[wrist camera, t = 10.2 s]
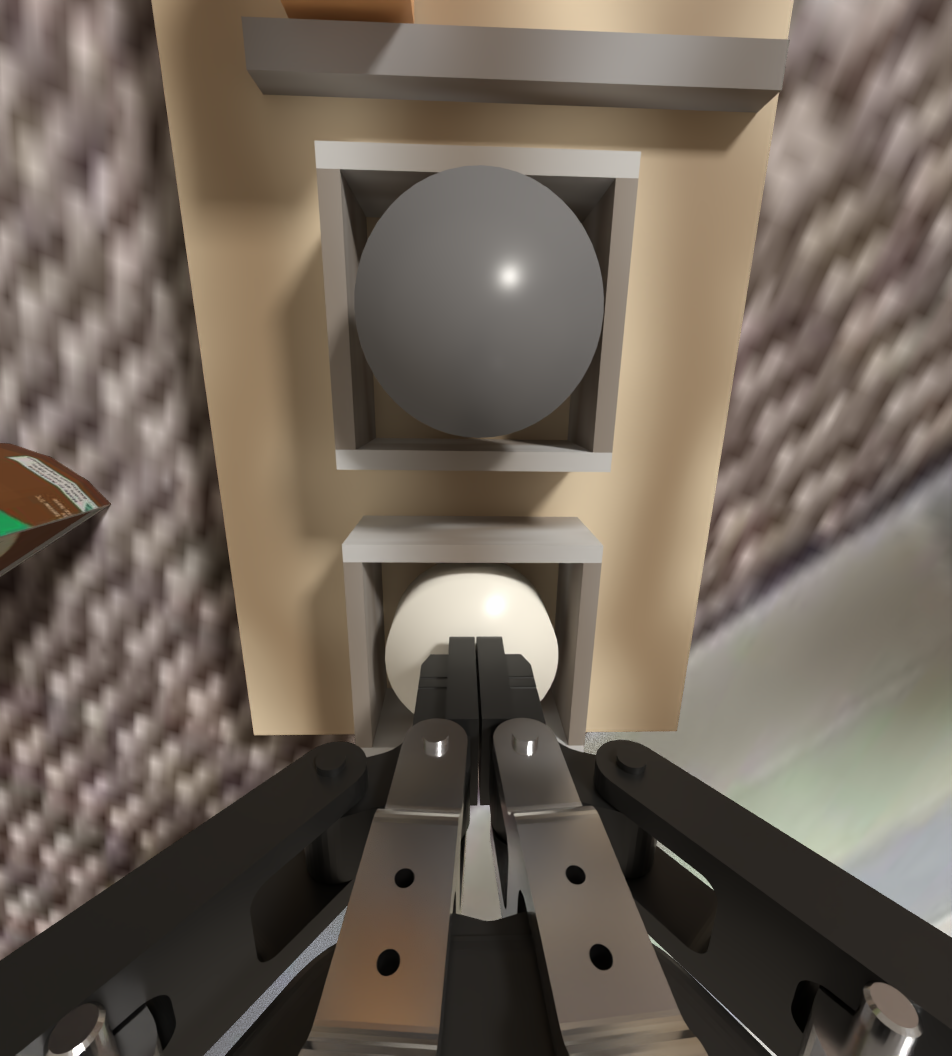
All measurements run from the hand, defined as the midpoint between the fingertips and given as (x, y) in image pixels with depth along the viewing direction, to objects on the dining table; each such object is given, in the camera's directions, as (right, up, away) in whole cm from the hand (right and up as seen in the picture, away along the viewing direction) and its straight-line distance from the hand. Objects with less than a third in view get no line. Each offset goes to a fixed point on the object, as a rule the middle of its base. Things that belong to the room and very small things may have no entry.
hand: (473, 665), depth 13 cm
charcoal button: (0, +9, -2) cm, 9 cm away
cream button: (0, +1, +2) cm, 2 cm away
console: (0, +11, +4) cm, 12 cm away
